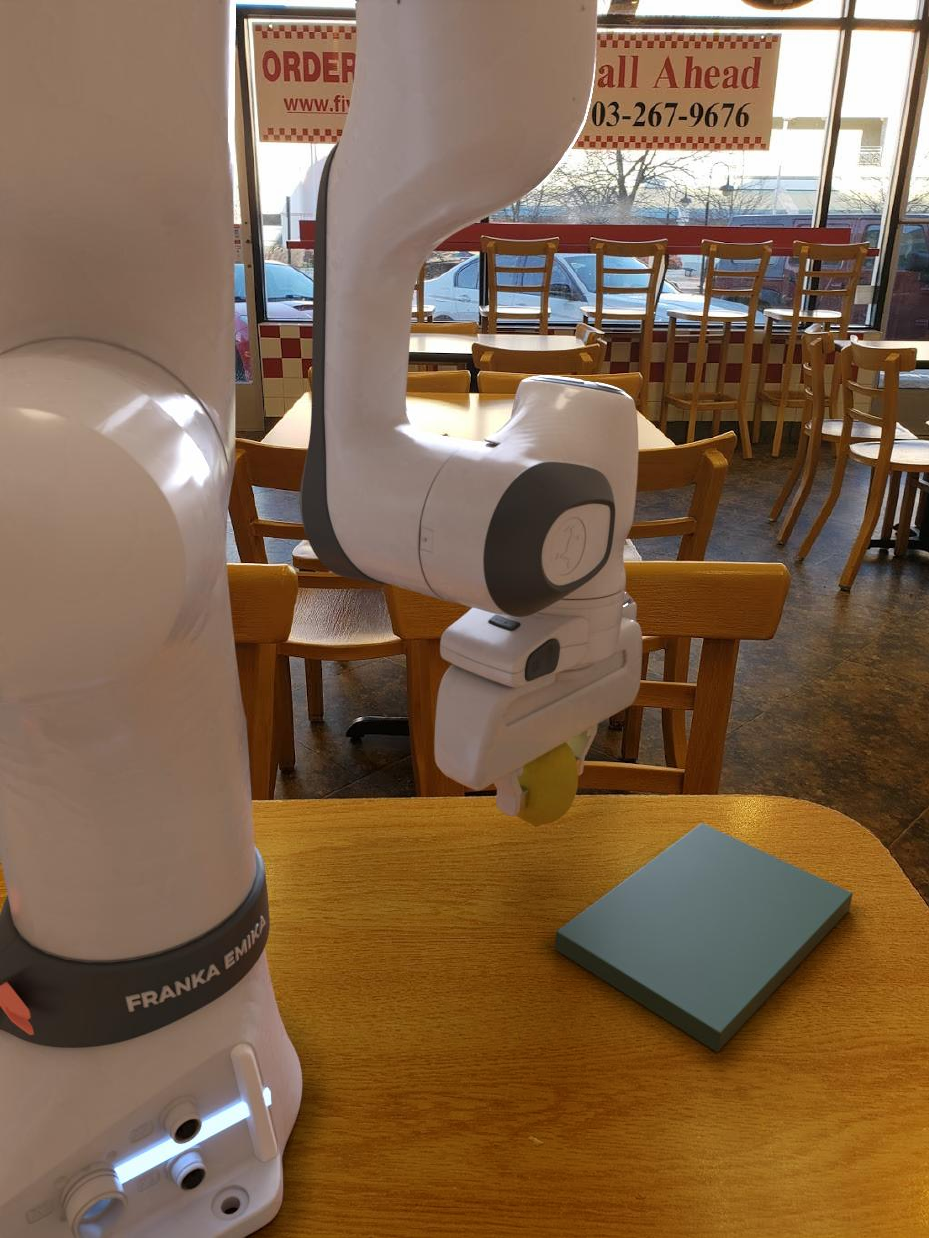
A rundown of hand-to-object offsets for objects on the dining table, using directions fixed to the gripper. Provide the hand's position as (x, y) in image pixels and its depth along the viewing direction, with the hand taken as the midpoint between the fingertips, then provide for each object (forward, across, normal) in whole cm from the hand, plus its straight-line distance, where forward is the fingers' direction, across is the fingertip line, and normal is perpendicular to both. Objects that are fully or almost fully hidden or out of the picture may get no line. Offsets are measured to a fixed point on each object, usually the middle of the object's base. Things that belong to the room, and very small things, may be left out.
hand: (540, 792), depth 69 cm
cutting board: (+5, -1, +14) cm, 15 cm away
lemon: (+3, 0, 0) cm, 3 cm away
